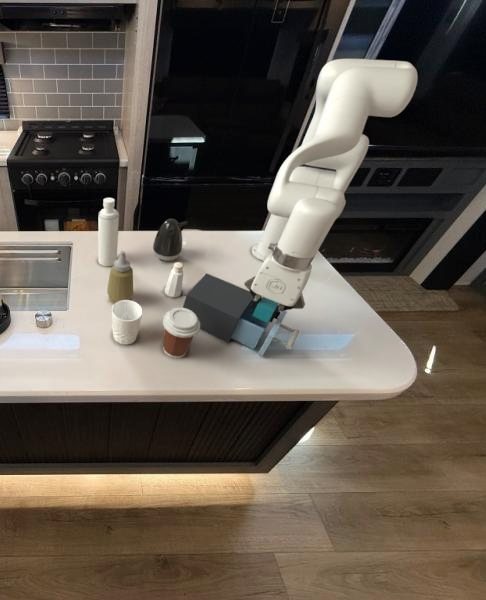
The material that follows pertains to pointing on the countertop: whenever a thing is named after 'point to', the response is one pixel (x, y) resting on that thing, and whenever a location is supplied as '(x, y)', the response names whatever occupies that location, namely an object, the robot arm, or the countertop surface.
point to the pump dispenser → (168, 240)
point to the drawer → (260, 331)
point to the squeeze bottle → (120, 280)
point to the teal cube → (265, 309)
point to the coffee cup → (179, 331)
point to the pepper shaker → (175, 281)
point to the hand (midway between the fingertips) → (263, 314)
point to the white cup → (126, 321)
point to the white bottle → (108, 233)
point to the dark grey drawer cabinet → (217, 305)
